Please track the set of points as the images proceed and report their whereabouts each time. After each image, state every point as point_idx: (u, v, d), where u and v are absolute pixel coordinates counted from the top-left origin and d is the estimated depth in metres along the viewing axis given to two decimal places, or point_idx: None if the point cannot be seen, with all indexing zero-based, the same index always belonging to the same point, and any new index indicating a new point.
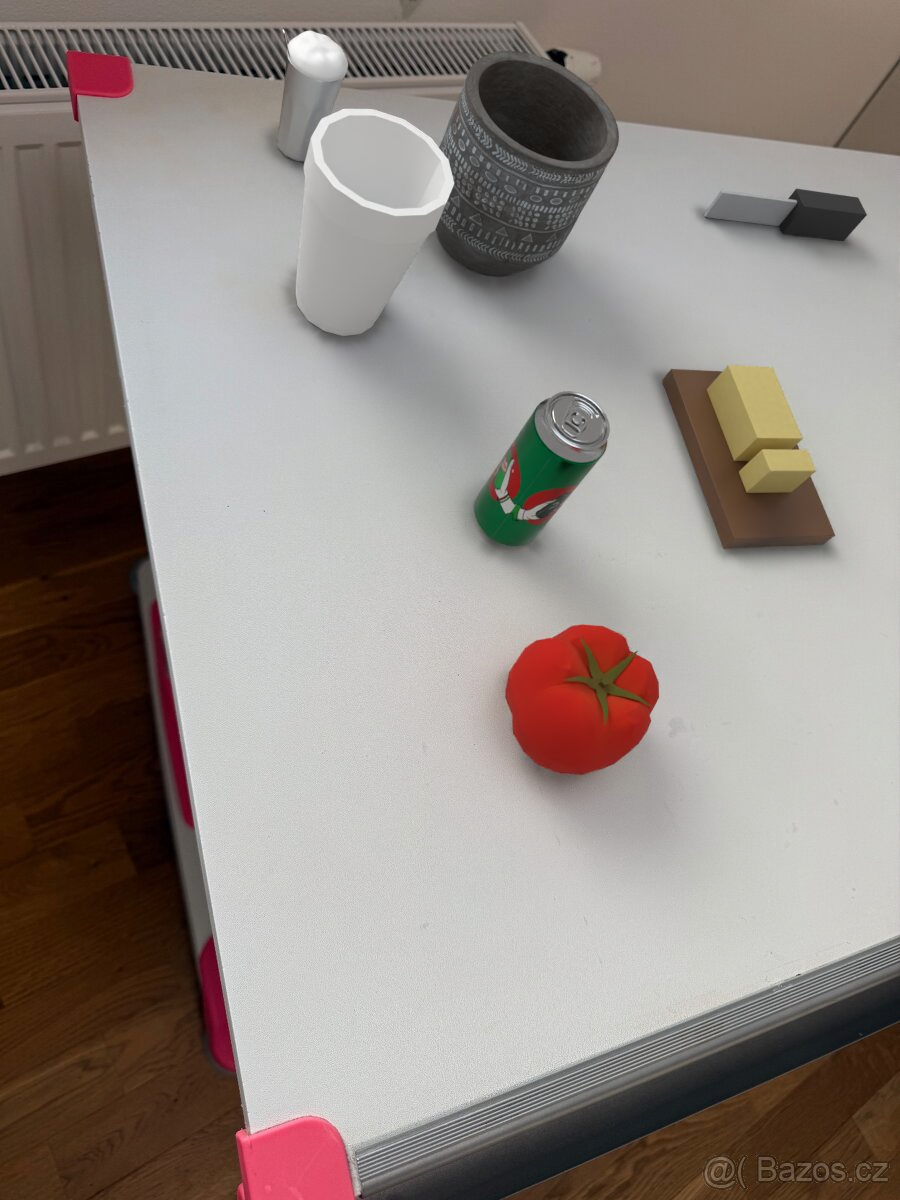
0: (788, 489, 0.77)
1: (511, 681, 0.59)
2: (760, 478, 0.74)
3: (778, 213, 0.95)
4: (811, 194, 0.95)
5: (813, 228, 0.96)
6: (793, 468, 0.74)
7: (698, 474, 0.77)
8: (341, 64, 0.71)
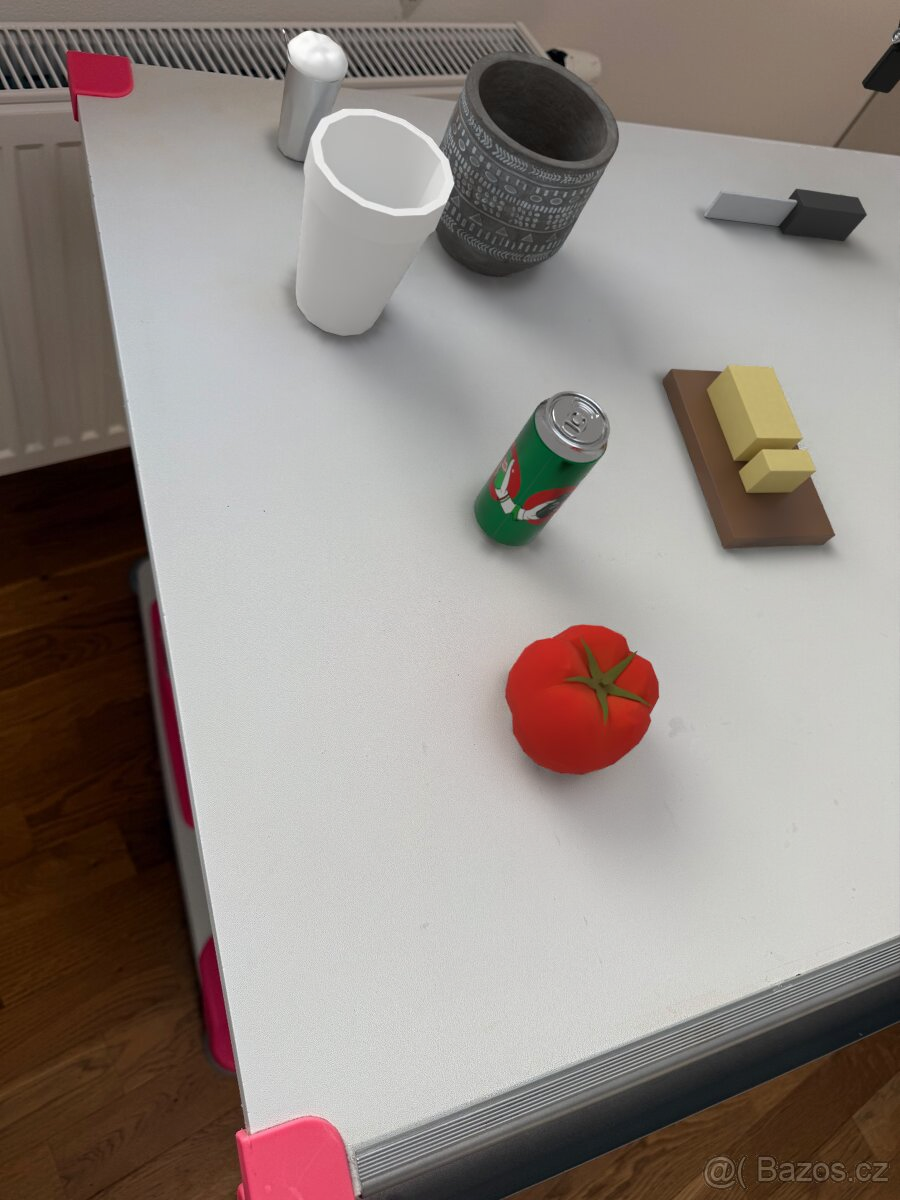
0: (788, 489, 0.77)
1: (511, 681, 0.59)
2: (760, 478, 0.74)
3: (778, 213, 0.95)
4: (811, 194, 0.95)
5: (813, 228, 0.96)
6: (793, 468, 0.74)
7: (698, 474, 0.77)
8: (341, 64, 0.71)
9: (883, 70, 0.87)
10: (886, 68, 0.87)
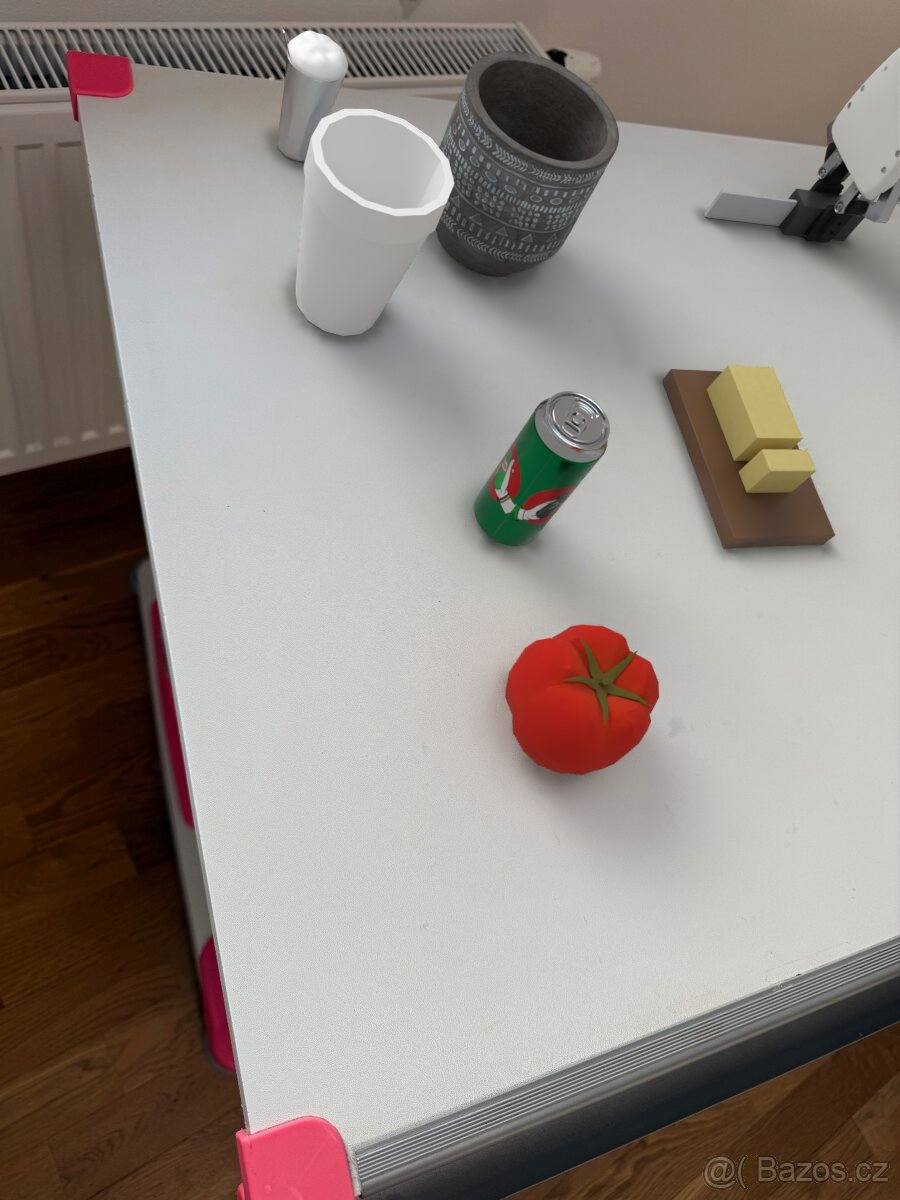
0: (788, 489, 0.77)
1: (511, 681, 0.59)
2: (760, 478, 0.74)
3: (778, 213, 0.95)
4: (811, 194, 0.95)
5: None
6: (793, 468, 0.74)
7: (698, 474, 0.77)
8: (341, 64, 0.71)
9: None
10: None
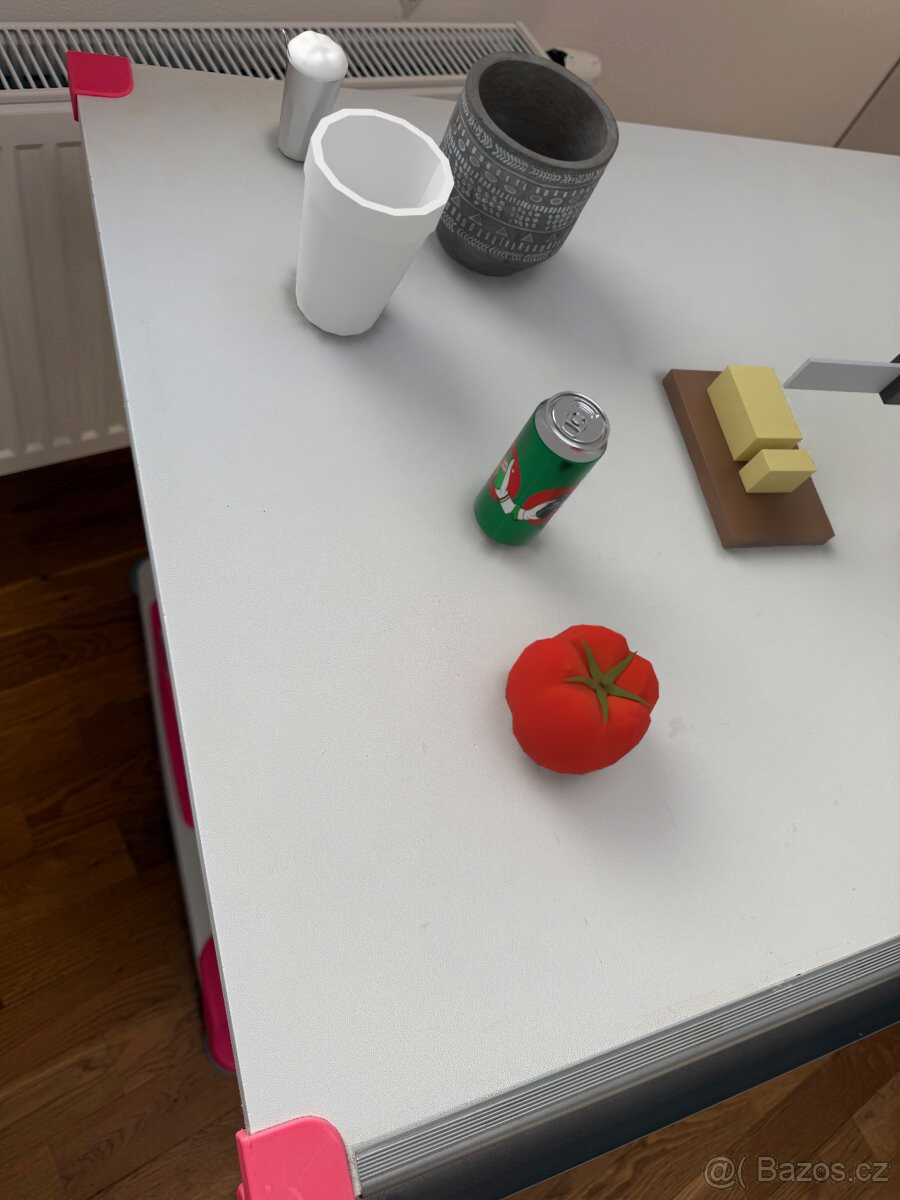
0: (788, 489, 0.77)
1: (511, 681, 0.59)
2: (760, 478, 0.74)
3: (880, 380, 0.70)
4: None
5: None
6: (793, 468, 0.74)
7: (698, 474, 0.77)
8: (341, 64, 0.71)
9: None
10: None
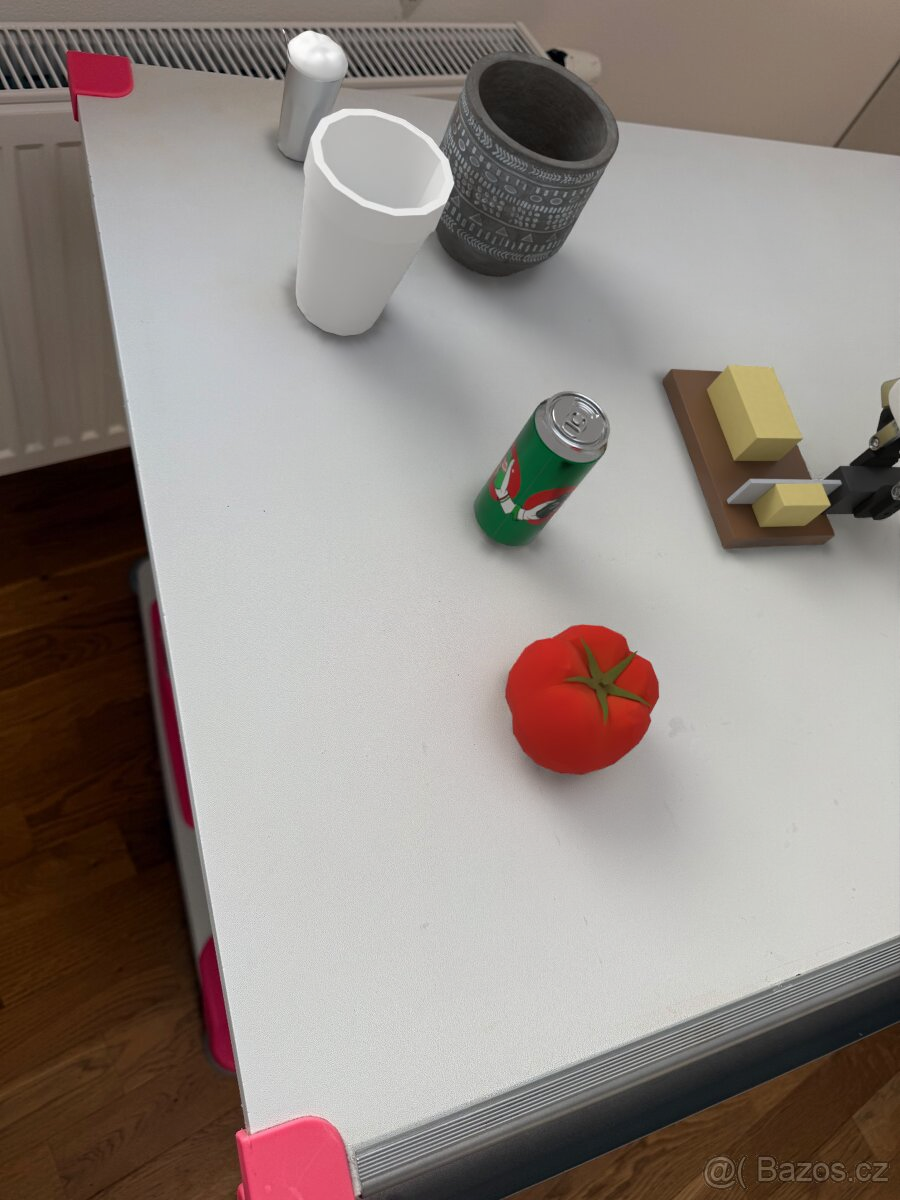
0: (802, 523, 0.76)
1: (511, 681, 0.59)
2: (773, 512, 0.73)
3: None
4: (858, 471, 0.76)
5: None
6: (807, 502, 0.73)
7: (698, 474, 0.77)
8: (341, 64, 0.71)
9: None
10: None
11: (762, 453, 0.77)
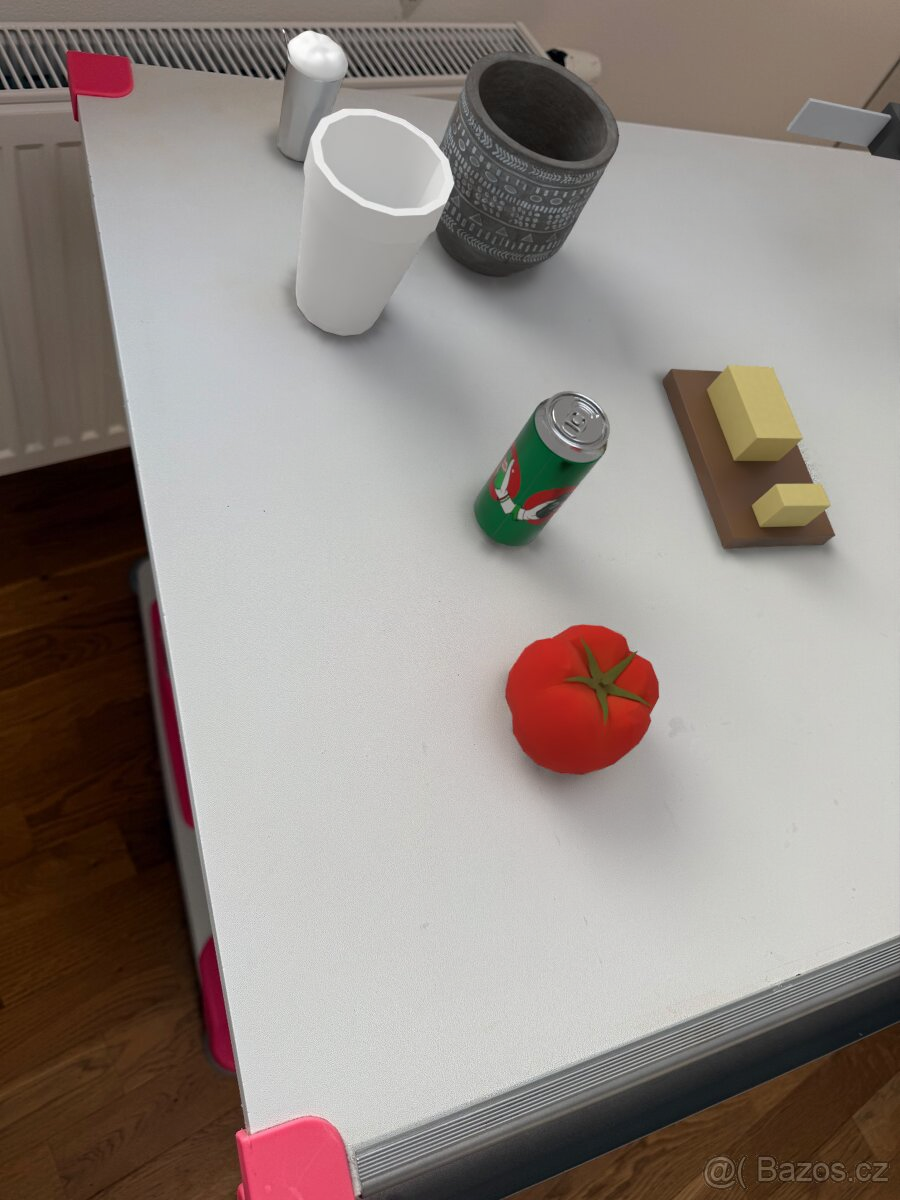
0: (802, 523, 0.76)
1: (511, 681, 0.59)
2: (773, 513, 0.73)
3: (868, 130, 0.83)
4: None
5: None
6: (808, 502, 0.73)
7: (698, 474, 0.77)
8: (341, 64, 0.71)
9: None
10: None
11: (762, 453, 0.77)
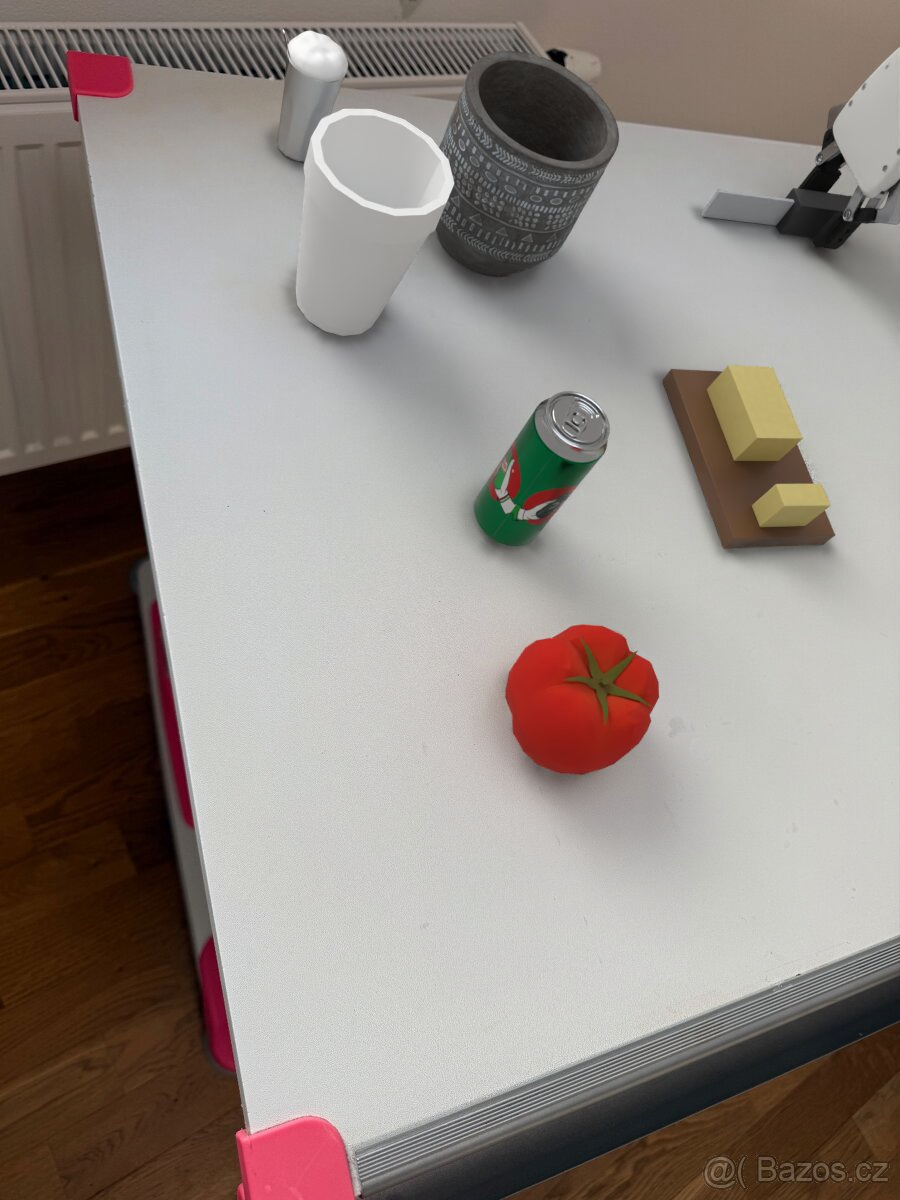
0: (802, 523, 0.76)
1: (511, 681, 0.59)
2: (773, 513, 0.73)
3: (775, 212, 0.95)
4: (808, 193, 0.94)
5: (810, 227, 0.96)
6: (808, 502, 0.73)
7: (698, 474, 0.77)
8: (341, 64, 0.71)
9: (809, 187, 0.96)
10: (812, 186, 0.96)
11: (762, 453, 0.77)
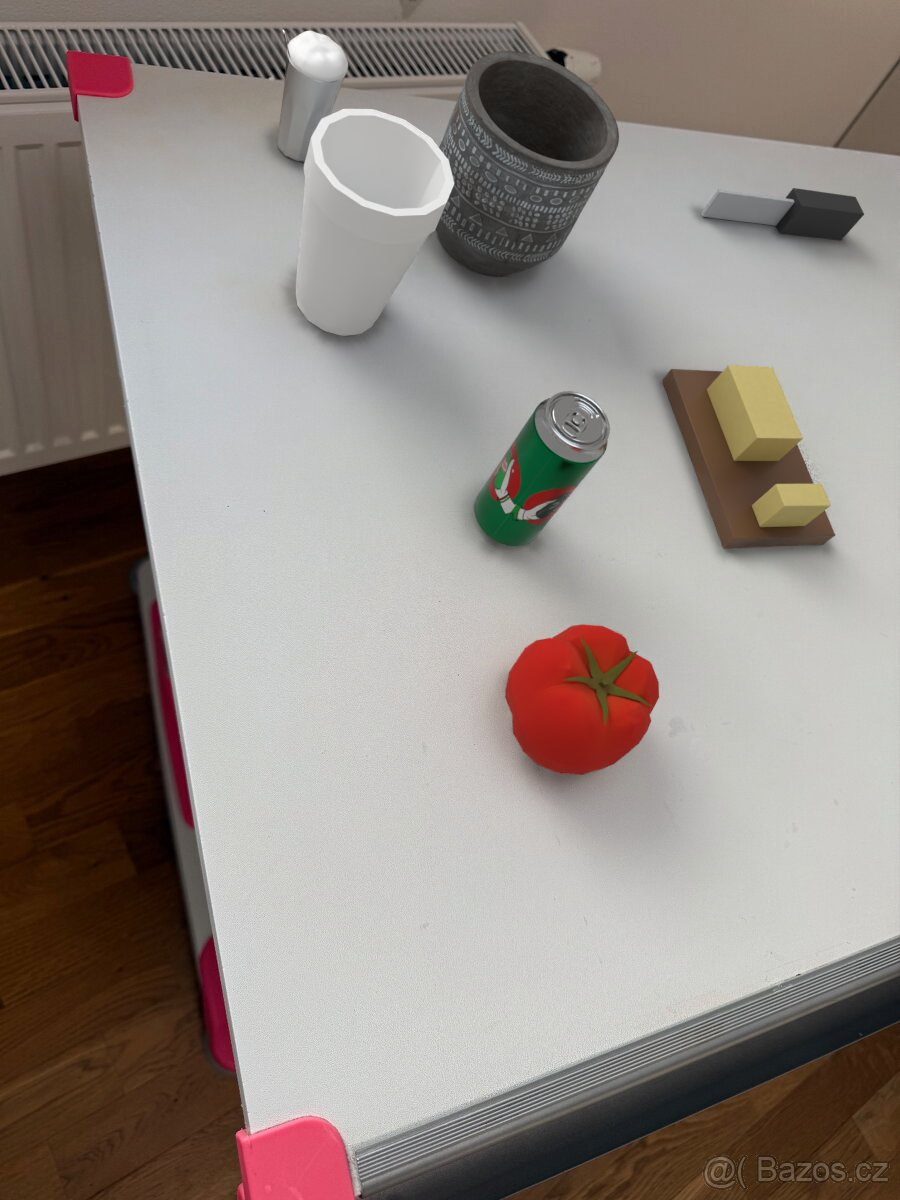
0: (802, 523, 0.76)
1: (511, 681, 0.59)
2: (773, 513, 0.73)
3: (775, 212, 0.95)
4: (808, 193, 0.94)
5: (810, 227, 0.96)
6: (808, 502, 0.73)
7: (698, 474, 0.77)
8: (341, 64, 0.71)
9: None
10: None
11: (762, 453, 0.77)
